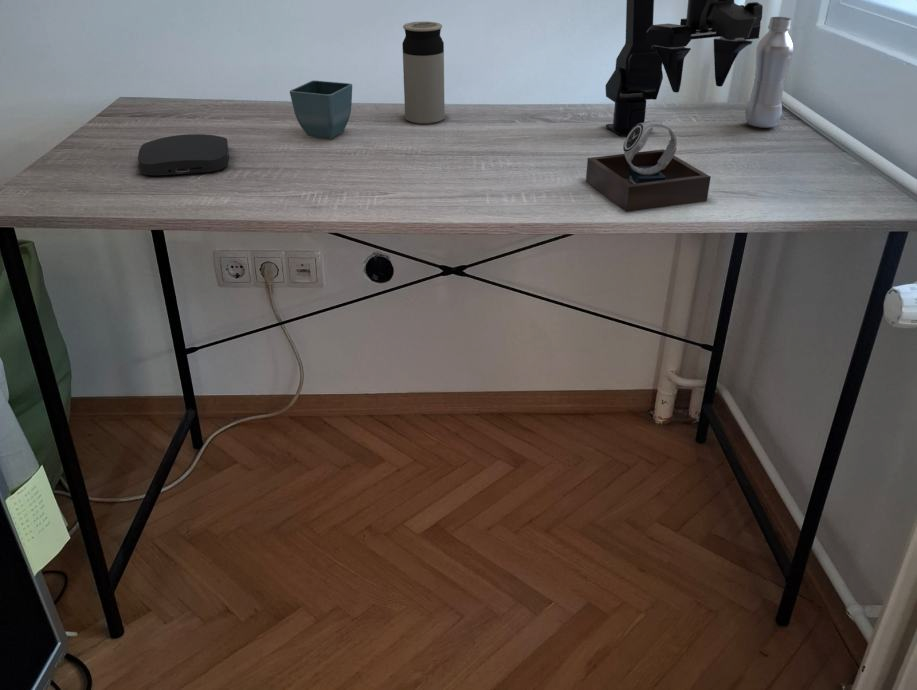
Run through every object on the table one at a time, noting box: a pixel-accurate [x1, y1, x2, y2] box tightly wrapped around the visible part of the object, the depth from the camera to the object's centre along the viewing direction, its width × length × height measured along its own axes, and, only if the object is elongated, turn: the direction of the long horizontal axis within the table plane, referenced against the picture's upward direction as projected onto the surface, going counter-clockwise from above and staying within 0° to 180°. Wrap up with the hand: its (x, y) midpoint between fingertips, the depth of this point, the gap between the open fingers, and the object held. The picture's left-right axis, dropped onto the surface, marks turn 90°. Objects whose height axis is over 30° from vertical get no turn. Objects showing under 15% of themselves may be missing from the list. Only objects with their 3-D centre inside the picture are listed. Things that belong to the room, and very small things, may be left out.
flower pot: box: [289, 80, 353, 140], centre depth 156 cm, size 9×9×9 cm
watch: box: [622, 120, 678, 184], centre depth 130 cm, size 6×8×11 cm
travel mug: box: [402, 21, 446, 125], centre depth 163 cm, size 8×8×18 cm
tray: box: [585, 149, 712, 213], centre depth 132 cm, size 14×14×4 cm
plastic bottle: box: [745, 16, 794, 129], centre depth 157 cm, size 6×7×20 cm
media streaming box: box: [137, 133, 230, 176], centre depth 144 cm, size 15×15×3 cm
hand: (697, 89), depth 133 cm, fingers open, 9 cm apart
